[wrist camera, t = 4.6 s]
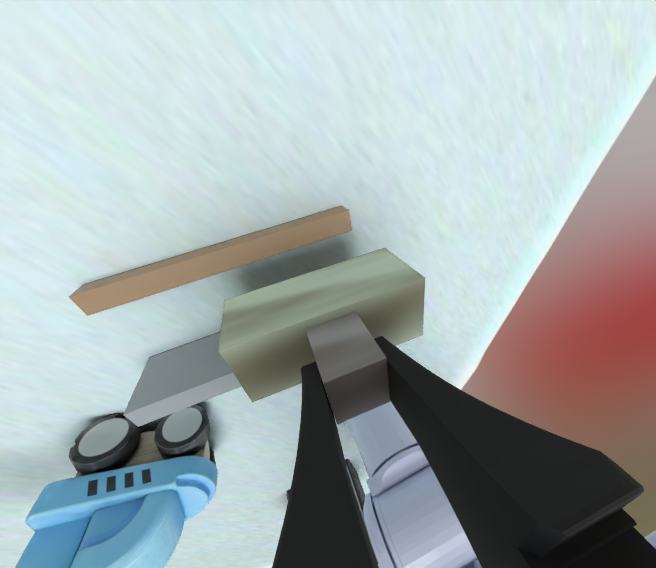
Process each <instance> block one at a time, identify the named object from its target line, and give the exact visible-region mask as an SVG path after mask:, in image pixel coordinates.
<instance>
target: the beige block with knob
mask: <svg viewBox="0 0 656 568" xmlns="http://www.w3.org/2000/svg"><path fill="white" fill-rule="evenodd" d="M424 290H425V277H423V276H422V275H421V274H419V273H418V272H417V271H415V270H414V269H413V268H411V267H410V266H409V265H407V264H406V263H405V262H403V261H402V260H401V259H399V258H398V257H397V256H395V255H394V254H393V253H391V252H390V251H389V250H387V249H386V248H383V249H379V250H376V251H373V252H370V253H367V254H364V255H361V256H358V257H355V258H352V259H349V260H346V261H343V262H340V263H337V264H333V265H330V266H327V267H324V268H321V269H318V270H315V271H312V272H309V273H306V274H303V275H300V276H297V277H294V278H291V279H288V280H284V281H281V282H278V283H275V284H272V285H269V286H266V287H263V288H260V289H257V290H254V291H251V292H248V293H245V294H242V295H238V296H235V297H232V298H229V299H226V300H224V308H223V317H222V326H221V335H220V344H219V353H220V354H221V356H222V357H223V359H224V360H225V362H226V363H227V365H228V366H229V368H230V369H231V371H232V372H233V374H234V375H235V377H236V378H237V380H238V381H239V383H240V384H241V386H242V387H243V389H244V390H245V392H246V393H247V395H248V396H249V398H250V399H251V401H252V402H254V401H257V400H259V399H262V398H265V397H267V396H270V395H272V394H275V393H277V392H280V391H282V390H285V389H287V388H290V387H292V386H295V385H297V384H300V383H302V376H301V368H302V366H305V365H307V364H310V363H313V362H315V361H316V363H317V366H318V369H319V372H320V375H321V377H322V380H323V383H324V386H325V389H326V392H327V395H328V398H329V401H330V404H331V407H332V410H333V413H334V416H335V419H336V422H337V424H340V423H342V422H344V421H347V420H349V419H351V418H354V417H356V416H358V415H361V414H363V413H365V412H368V411H370V410H372V409H374V408H377V407H379V406H381V405H384V404H386V403H388V402H390V395H389V383H388V370H387V358H386V356H385V355H384V353H383V352H382V350H381V349H380V347H379V346H378V344H377V343H376V341H375V340H374V339H375V338H377V337H380V336H383V337H384V338H386V339H387V340H388V341H389V342H391V343H392V344H393V345H394V346H396V345H398V344H401V343H404V342H406V341H409V340H411V339H414V338H416V337H419V336H421V335H423V314H424Z"/></svg>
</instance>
